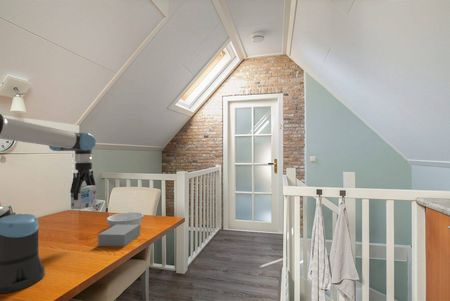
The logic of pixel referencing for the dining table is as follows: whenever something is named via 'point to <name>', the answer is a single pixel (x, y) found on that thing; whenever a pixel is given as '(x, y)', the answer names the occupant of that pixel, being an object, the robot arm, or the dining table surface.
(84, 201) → the light bulb box
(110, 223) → the serving bowl
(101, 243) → the grey block
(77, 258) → the dining table surface
